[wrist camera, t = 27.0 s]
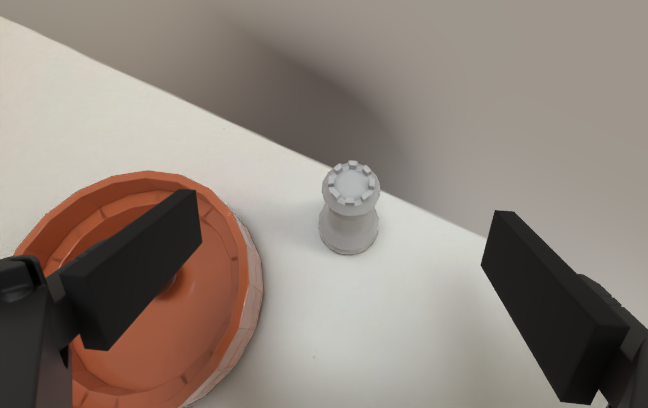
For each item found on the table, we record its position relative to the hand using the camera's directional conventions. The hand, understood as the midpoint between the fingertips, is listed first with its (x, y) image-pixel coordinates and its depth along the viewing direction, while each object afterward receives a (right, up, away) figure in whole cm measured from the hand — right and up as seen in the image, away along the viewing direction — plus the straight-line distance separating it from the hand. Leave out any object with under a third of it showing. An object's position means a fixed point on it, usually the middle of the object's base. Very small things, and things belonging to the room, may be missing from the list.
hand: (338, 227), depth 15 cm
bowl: (-12, -5, +9) cm, 16 cm away
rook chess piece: (+1, -1, +10) cm, 11 cm away
